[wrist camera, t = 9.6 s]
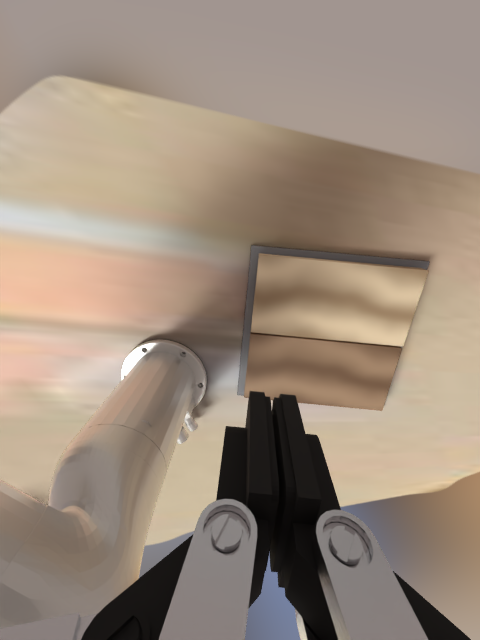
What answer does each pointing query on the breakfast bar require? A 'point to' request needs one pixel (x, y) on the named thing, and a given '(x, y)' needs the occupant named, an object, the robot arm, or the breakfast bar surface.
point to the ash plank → (335, 299)
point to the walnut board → (321, 370)
